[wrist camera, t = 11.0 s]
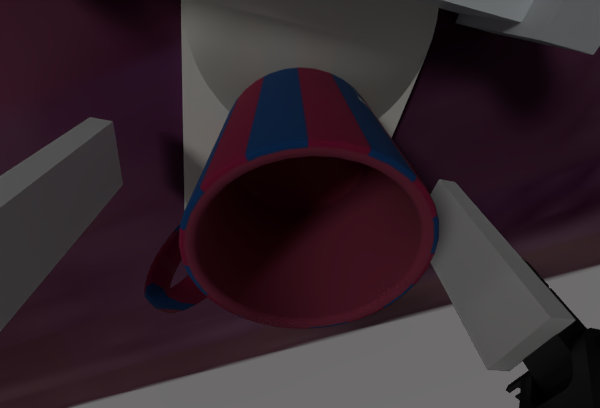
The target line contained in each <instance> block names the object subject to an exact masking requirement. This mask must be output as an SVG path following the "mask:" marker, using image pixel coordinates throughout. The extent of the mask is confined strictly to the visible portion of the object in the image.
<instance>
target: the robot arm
mask: <svg viewBox="0 0 600 408" xmlns="http://www.w3.org/2000/svg"><path fill="white" fill-rule="evenodd" d="M122 185H123V182H122V176H121V170H120V163H119V157H118V151H117V145H116V138H115V132H114V126H113V121H108V120H102V119H96V118H91V117H90V118H88V119H87V120H85V121H84V122H82V123H80V124H79V125H77V126H76V127H74V128H73V129H71V130H70V131H68V132H67V133H65V134H64V135H62V136H61V137H59V138H58V139H56V140H55V141H53V142H51V143H50V144H48V145H47V146H45V147H44V148H42V149H41V150H39V151H38V152H36V153H35V154H33V155H32V156H30V157H29V158H27V159H26V160H24V161H22V162H21V163H19V164H18V165H16V166H15V167H13V168H12V169H10V170H9V171H7V172H6V173H4V174H3V175H1V176H0V331H1V330H2V329H3V328H4V327H5V325H6V324H7V323H8V322H9V321H10V319H11V318H12V317H13V316H14V315H15V313H16V312H17V311H18V310H19V309H20V307H21V306H22V305H23V304H24V303H25V301H26V300H27V299H28V298H29V297H30V295H31V294H32V293H33V292H34V291H35V289H36V288H37V287H38V286H39V285H40V283H41V282H42V281H43V280H44V279H45V277H46V276H47V275H48V274H49V273H50V271H51V270H52V269H53V268H54V267H55V265H56V264H57V263H58V262H59V261H60V259H61V258H62V257H63V256H64V255H65V253H66V252H67V251H68V250H69V249H70V247H71V246H72V245H73V244H74V243H75V241H76V240H77V239H78V238H79V237H80V235H81V234H82V233H83V232H84V231H85V229H86V228H87V227H88V226H89V225H90V223H91V222H92V221H93V220H94V219H95V217H96V216H97V215H98V214H99V213H100V211H101V210H102V209H103V208H104V207H105V205H106V204H107V203H108V202H109V201H110V199H111V198H112V197H113V196H114V195H115V193H116V192H117V191H118V190H119V189H120V187H121V186H122ZM430 195H431V197H432V199H433V201H434V203H435V206H436V210H437V215H438V219H439V239H438V243H437V247H436V250H435V254H434V256H433V258H432V260H431V264H432V266H433V268H434V270H435V272H436V273H437V275H438V277H439V279H440V281H441V283H442V285H443V287H444V289H445V290H446V292H447V294H448V296H449V298H450V300H451V302H452V304H453V306H454V307H455V309H456V311H457V313H458V315H459V317H460V319H461V320H462V322H463V324H464V326H465V328H466V330H467V332H468V334H469V336H470V337H471V340H472V341H473V343H474V345H475V347H476V349H477V351H478V353H479V355H480V357H481V358H482V360H483V362H484V364H485V366H486V368H487V370H500V371H510V370H511V369H513V368H514V367H515V366H517V365H518V364H519V363H521V362H522V361H523V362H524V364H525V365H526V367H527V368H528V370H529V371H527V372H526V373H525V374H524V375H522V376H521V377H519V378H518V379H516V380H515V381H514V382H512V383H511V384H509V385H508V387H507V389H506V391H508V392H509V393H510V392H512V391H513V390H515V389H516V388H520V389H521V392H520V393H519V394H518V395H516V396H515V397H516V398H517V399H519V400H520V405H519V408H600V330H598V329H593V328H589V329H587V328H586V327H585V326H584V325H583V324H582V323H581V322H580V320H579V319H578V318H577V317H576V316H575V315H574V314H573V313H572V312H571V310H570V309H569V308H568V307H567V306H566V305H565V304H564V302H563V301H562V300H561V299H560V298H559V297H558V296H557V295H556V293H555V292H554V291H553V290H552V289H551V288H549V286H548V284H547V283H546V282H545V281H544V280H543V279H542V278H540V275H539V274H538V273H537V272H536V271H535V270H534V269H533V267H532V266H531V265H530V264H529V263H528V262H527V261H525V260H524V259H523V258H521V257H520V256H519V255H518V253H517V252H516V251H515V250H514V249H513V248H512V247H511V245H510V244H509V243H508V242H507V241H506V240H505V239H504V237H503V236H502V235H501V234H500V233H499V232H498V231H497V229H496V228H495V227H494V226H493V225H492V224H491V223H490V221H489V220H488V219H487V218H486V217H485V216H484V215H483V213H482V212H481V211H480V210H479V209H478V208H477V207H476V205H475V204H474V203H473V202H472V201H471V200H470V199H469V197H468V196H467V195H466V194H465V193H464V192H463V191H462V189H461V188H460V187H459V186H458V185H457V184H456V183H455V182H452V181H446V180H441V179H439V180H438V182H437V184H436V186H435V187H434V189H433V191H432V193H431V194H430Z"/></svg>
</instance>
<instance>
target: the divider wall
mask: <svg viewBox="0 0 600 408" xmlns="http://www.w3.org/2000/svg"><path fill="white" fill-rule="evenodd" d="M414 1H418V2H421V3H425V4H428V5H432V6H436V7H439V8H441V9H445V10H448V11H452V12H455V13H459V15H458V18H457V20H456V22H455V23H457V24H461V25H464V26H468V27H472V28H475V29H479V30H483V31H486V32H490V33H494V34H499V35H503V36H508V37H513V38H517V39H522V40H527V41H531V42H536V43H541V44H545V45H550V46H555V47H559V48H564V49H569V50H573V51H578V52H583V53H587V54H592V55H593V54H594V53H595V51H596V50H597V49H598V47H599V46H600V0H414Z"/></svg>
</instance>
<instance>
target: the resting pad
mask: <svg viewBox="0 0 600 408" xmlns="http://www.w3.org/2000/svg"><path fill="white" fill-rule="evenodd" d="M438 9H439V7H436V6H432V5H428V4H425V3H421V2H418V1H414V0H181V32H182V90H183V147H184V204H185V208H186V206H187V204H188V202H189V200H190V197H191V195H192V193H193V191H194V189H195V187H196V184H197V182H198V180H199V178H200V176H201V173H202V171H203V169H204V167H205V165H206V162H207V160H208V158H209V156H210V154H211V151H212V149H213V147H214V145H215V143H216V140H217V138H218V136H219V134H220V132H221V130H222V127H223V125H224V123H225V121H226V119H227V116H228V114H229V112H230V110H231V108H232V107H233V105H234V103H235V101H236V100H237V99H238V97H239V96H240V95H241V94H242V93H243V92H244V90H245V89H247V88H248V87H249V86H250V85H252V84H253V83H254V82H255V81H257V80H258V79H260V78H262V77H264V76H266V75H268V74H270V73H273V72H276V71H280V70H283V69H289V68H299V67H302V68H313V69H318V70H322V71H325V72H329V73H331V74H333V75H335V76H337V77H339V78H341V79H343V80H344V81H346V82H347V83H348V84H350V85H351V86H352V87H353V88H355V90H356V91H357V92H358V93H359V94H360V95H361V97H362V98H363V99H364V100H365V102H366V103H367V105H368V106H369V107H370V109H371V110H372V112H373V113H374V114H375V116H376V117H377V119H378V120H379V121H380V123H381V124H382V126H383V127H384V129H385V130H386V131H387V133H388V134H389V136H390V137H391V138H392V136H393V133H394V131H395V129H396V126H397V124H398V121H399V119H400V117H401V114H402V112H403V110H404V107H405V105H406V102H407V100H408V98H409V95H410V93H411V90H412V88H413V86H414V83H415V81H416V79H417V76H418V74H419V71H420V69H421V67H422V64H423V62H424V59H425V57H426V55H427V52H428V49H429V46H430V44H431V41H432V38H433V34H434V30H435V26H436V22H437V16H438Z"/></svg>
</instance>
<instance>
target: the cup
mask: <svg viewBox="0 0 600 408" xmlns="http://www.w3.org/2000/svg"><path fill="white" fill-rule="evenodd" d="M438 239H439V219H438V215H437V210H436V206H435V203H434V201H433V199H432V197H431V195H430V194H429V192H428V190H427V188H426V186H425V185H424V183H423V182H422V181H421V179H420V178H419V176H418V175H417V174H416V172H415V171H414V169H413V168H412V167H411V165H410V164H409V162H408V161H407V160H406V158H405V157H404V155H403V154H402V152H401V151H400V150H399V148H398V147H397V145H396V144H395V143H394V141H393V140H392V138H391V137H390V136H389V134H388V133H387V131H386V130H385V129H384V127H383V126H382V124H381V123H380V121H379V120H378V119H377V117H376V116H375V114H374V113H373V112H372V110H371V109H370V107H369V106H368V105H367V103H366V102H365V100H364V99H363V98H362V97H361V95H360V94H359V93H358V92H357V91H356V90H355V88H353V87H352V86H351V85H350V84H348V83H347V82H346V81H344V80H343V79H341V78H339V77H337V76H335V75H333V74H331V73H329V72H325V71H322V70H318V69H313V68H302V67H299V68H289V69H283V70H280V71H276V72H273V73H270V74H268V75H266V76H264V77H262V78H260V79H258V80H257V81H255V82H254V83H253V84H252V85H250V86H249V87H248V88H247V89H245V90H244V92H243V93H242V94H241V95H240V96H239V97H238V99H237V100H236V101H235V103H234V105H233V107H232V108H231V110H230V112H229V114H228V116H227V119H226V121H225V123H224V125H223V127H222V130H221V132H220V134H219V136H218V138H217V140H216V143H215V145H214V147H213V149H212V151H211V154H210V156H209V158H208V160H207V162H206V165H205V167H204V169H203V171H202V173H201V176H200V178H199V180H198V182H197V184H196V187H195V189H194V191H193V193H192V195H191V197H190V200H189V202H188V204H187V206H186V208H185V211H184V214H183V218H182V221H181V224H180V225H179V226H178V227H177V228H176V229H175V230H174V231H173V233H172V234H171V235H170V236H169V238H168V239H167V240H166V242H165V243H164V244H163V246H162V247H161V249H160V251H159V252H158V254H157V255H156V257H155V259H154V261H153V263H152V265H151V267H150V270H149V273H148V275H147V279H146V283H145V288H144V293H145V297H146V299H147V300H148V301H149V302H150V303H151V304H152V305H153V306H154V307H155V308H156V309H158V310H161V311H163V312H166V313H176V312H180V311H183V310H186V309H188V308H190V307H192V306H194V305H196V304H197V303H199V302H201V301H202V300H204V299H205V298H207V297H208V298H209V299H210V300H212V301H213V302H215V303H216V304H218V305H219V306H221V307H222V308H224V309H225V310H227V311H229V312H231V313H233V314H235V315H237V316H239V317H242V318H245V319H248V320H251V321H253V322H256V323H261V324H265V325H270V326H275V327H284V328H320V327H328V326H334V325H339V324H344V323H347V322H351V321H354V320H358V319H361V318H363V317H365V316H368V315H370V314H373V313H375V312H377V311H379V310H381V309H383V308H384V307H386V306H388V305H390V304H391V303H393V302H394V301H396V300H397V299H398V298H400V297H401V296H402V295H404V294H405V293H406V292H407V291H408V290H409V289H410V288H411V287H412V286H413V285H414V284H416V283H417V281H418V280H419V279H420V278H421V276H422V275H423V274H424V272H425V271H426V270H427V268H428V266H429V264H430V262H431V260H432V258H433V256H434V254H435V250H436V247H437V243H438ZM181 260H182V262H183V264H184V266H185V268H186V270H187V272H188V276H187V277H186V278H184V279H183V280H182V281H181V282H179V283H178V284H177V285H175V286H173V287H172V288H170V284H171V281H172V279H173V276H174V274H175V271H176V269H177V268H178V266H179V264H180V262H181Z"/></svg>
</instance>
